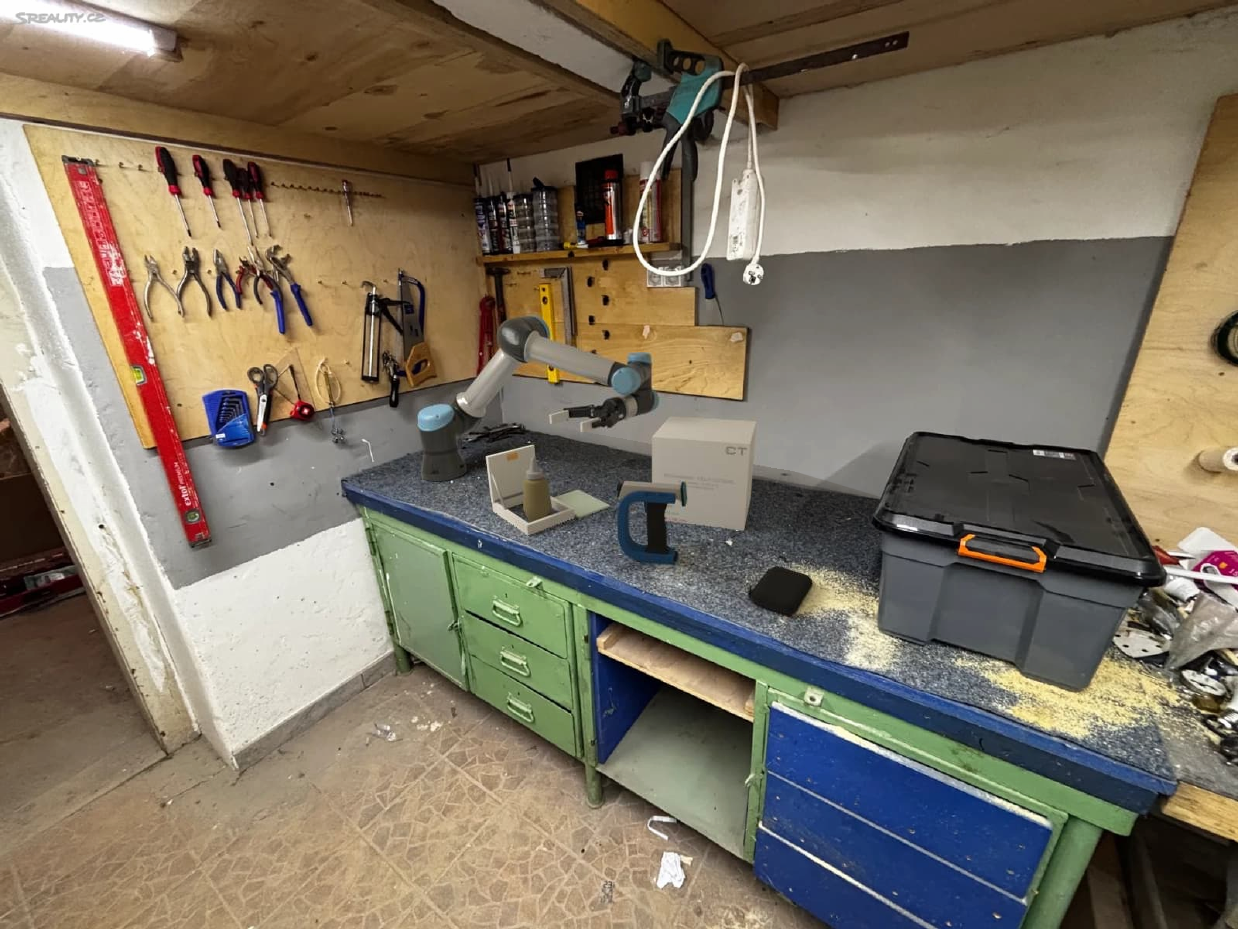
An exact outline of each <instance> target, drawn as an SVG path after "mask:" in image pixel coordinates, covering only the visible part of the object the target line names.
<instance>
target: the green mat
mask: <svg viewBox="0 0 1238 929" xmlns="http://www.w3.org/2000/svg"><path fill="white" fill-rule="evenodd" d="M553 498H555V499H557V500H559V501H561V502H563V503H564V504H566V505H568V506H570V507H572V508H573V509H574V516H575V517H576V518H577V519H579V518H580V519H582V518H585V517H588V516H590V515H592V513H593V514H596V513H598V512H601V511H603V510H606V509H608V508H611V505H610V504H608V503H606V502H604V501H602V500H600V499H598V498H597V497H594V496H592V495H590V494H589V493H586V492H584V491H582V490H580V489H576V490H572V491H570V492H567V493H563V494H561V495H557V496H554V497H553ZM600 510H601V511H600Z"/></svg>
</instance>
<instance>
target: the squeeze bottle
mask: <svg viewBox="0 0 1238 929" xmlns="http://www.w3.org/2000/svg"><path fill="white" fill-rule="evenodd" d="M550 494H551V493H550V490H549V483H548V479H547V477H546V476H544V470H543V469H542V468H540V467H539V466H538V462H537V458H536V457H535V458H531V464H530V469H529V470H527V471H526V478H525V479H524V480H523V503H522V504H523V505H522V510H523V512H524V514H525V515H526V518H527V520H528V521H529V522H533V521H536V520H539V519H542V518H544V517H547V516H550V515H551V513H552V512H551V510H552V509H553V508H552V504H551V498H550V496H551V495H550Z"/></svg>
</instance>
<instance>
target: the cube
mask: <svg viewBox="0 0 1238 929" xmlns="http://www.w3.org/2000/svg"><path fill="white" fill-rule="evenodd" d="M756 430H757V420H756V421H755V420H754V421H753V420H740V419H739V420H737V419H725V418H724V419H723V418H722V419H721V418H706V417H705V418H704V417H692V416H690V417H688V416H675V415H673V416H672V415H670V416H669V417H667V419H666V420H665V422H663V423H662V425H661V426H660V427H659V429H658V428H657V430H656V431H655V433H654V434H653V435H652V436H651V483H664V484H679V485H681V483H682V482H685V483H686V489H687V504H686V506H685V507H684V506H682V502H680V501H679V500H677V499H676V502H675V504H667V508H666V510H665V522H670V521H671V522H670V523H678V522H679V524H687V525H689V524H690V525H694V524H696V525H695V526H702V525H705V526H704V527H710V526H711V528H718V527H721V528H720V529H726V528H727V530H734V531H742V532H744V531H745V526H746V522H747V517H748V513H749V508H750V504H751V496H752V485H753V484H752V482H753V471H754V457H755V456H754V455H755V444H756V442H755V441H756V432H757V431H756Z"/></svg>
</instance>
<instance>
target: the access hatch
mask: <svg viewBox="0 0 1238 929" xmlns="http://www.w3.org/2000/svg"><path fill="white" fill-rule="evenodd" d="M531 458H536V451H535V445H534V444H530V445H526V446H521V447H518V448H514V449H510V450H506V451H501V452H498V453H494V454H489V455H486V456H485V460H486V467H487V468H486V470H487V477H488V483H489V484H488V486H489V492H490V493H489V494H490V502H491V505H492V511H493V513H495V514H496V513H497V514H496V515H498V516H499V517H501V519H503V520H505V521H506V520H507V521H506V522H508V523H509V524H510V525H512V526H513V525H514V526H513V527H514V528H516V527H517V528H516V529H518V530H519V531H520V532H522V533H523V534H525V535H527V536H528V535H529V536H532V535H534V534H536V533H539V531H540V532H542V531H545V530H547V529H546V528H548V527H550V528H553V527H555V526H554V525H556V524H558V525H561V524H563V523H562V522H564V523H566V522H565V521H567V520H569V521H572V520H574V518H575V517H576V516H574V509H573V508H572V507H570V506H568V505H566V504H564V503H563V502H561V501H559V500H557V499H555V498H554V497H553V496H552V495H550V498H551V504H552V508H551V509H553V508H554V509H555V510H554V509H553V510H554V511H556V510H558V511H559V512H558V511H557V512H556V513H553V514H550V515H549V516H547V517H544V518H542V519H539V520H536V521H533V522H531V521H529V522H528V521H526V520H524V518H522V517H520V516H518V515H517V514H515V513H514V512H512V511H511V510H510V509H509V508H513V507H516V506H518V505H522V504H523V480H524V479H525V478H526V471H527V470H529V469H530V464H531ZM571 519H572V520H571ZM567 522H568V521H567ZM560 523H561V524H560ZM552 526H553V527H552ZM556 526H557V525H556ZM544 529H545V530H544ZM548 529H549V528H548ZM531 534H532V535H531Z"/></svg>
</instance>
